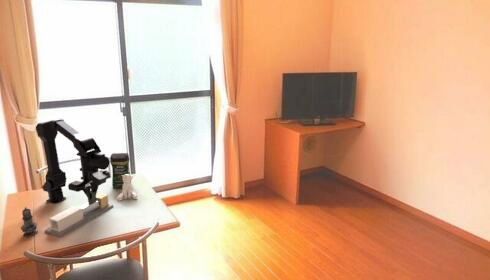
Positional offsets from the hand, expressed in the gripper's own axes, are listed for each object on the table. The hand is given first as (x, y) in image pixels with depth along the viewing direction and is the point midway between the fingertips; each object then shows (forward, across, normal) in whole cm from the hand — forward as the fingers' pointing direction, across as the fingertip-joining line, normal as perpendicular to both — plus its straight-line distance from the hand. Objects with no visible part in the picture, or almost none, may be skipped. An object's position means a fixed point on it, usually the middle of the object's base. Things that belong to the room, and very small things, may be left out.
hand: (92, 197), depth 159 cm
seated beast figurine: (+7, +19, -3) cm, 21 cm away
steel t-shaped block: (+5, -3, 0) cm, 6 cm away
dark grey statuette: (+8, -25, +9) cm, 27 cm away
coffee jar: (+7, +28, +9) cm, 30 cm away
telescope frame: (+7, -6, 0) cm, 9 cm away
